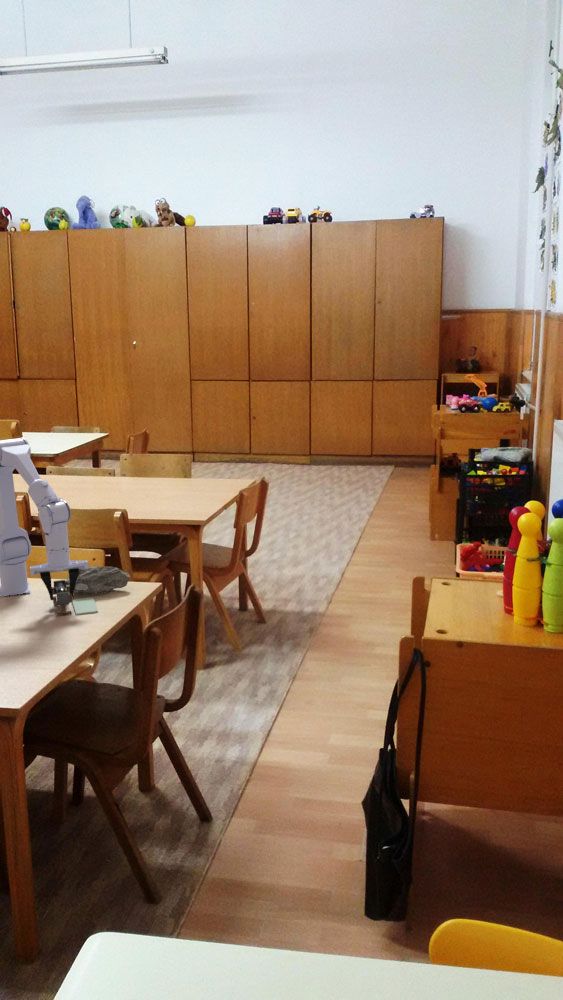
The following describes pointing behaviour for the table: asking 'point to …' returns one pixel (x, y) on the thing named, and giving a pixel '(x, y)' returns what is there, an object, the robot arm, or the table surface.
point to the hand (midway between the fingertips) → (61, 597)
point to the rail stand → (63, 607)
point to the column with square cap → (61, 592)
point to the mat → (84, 606)
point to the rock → (99, 580)
